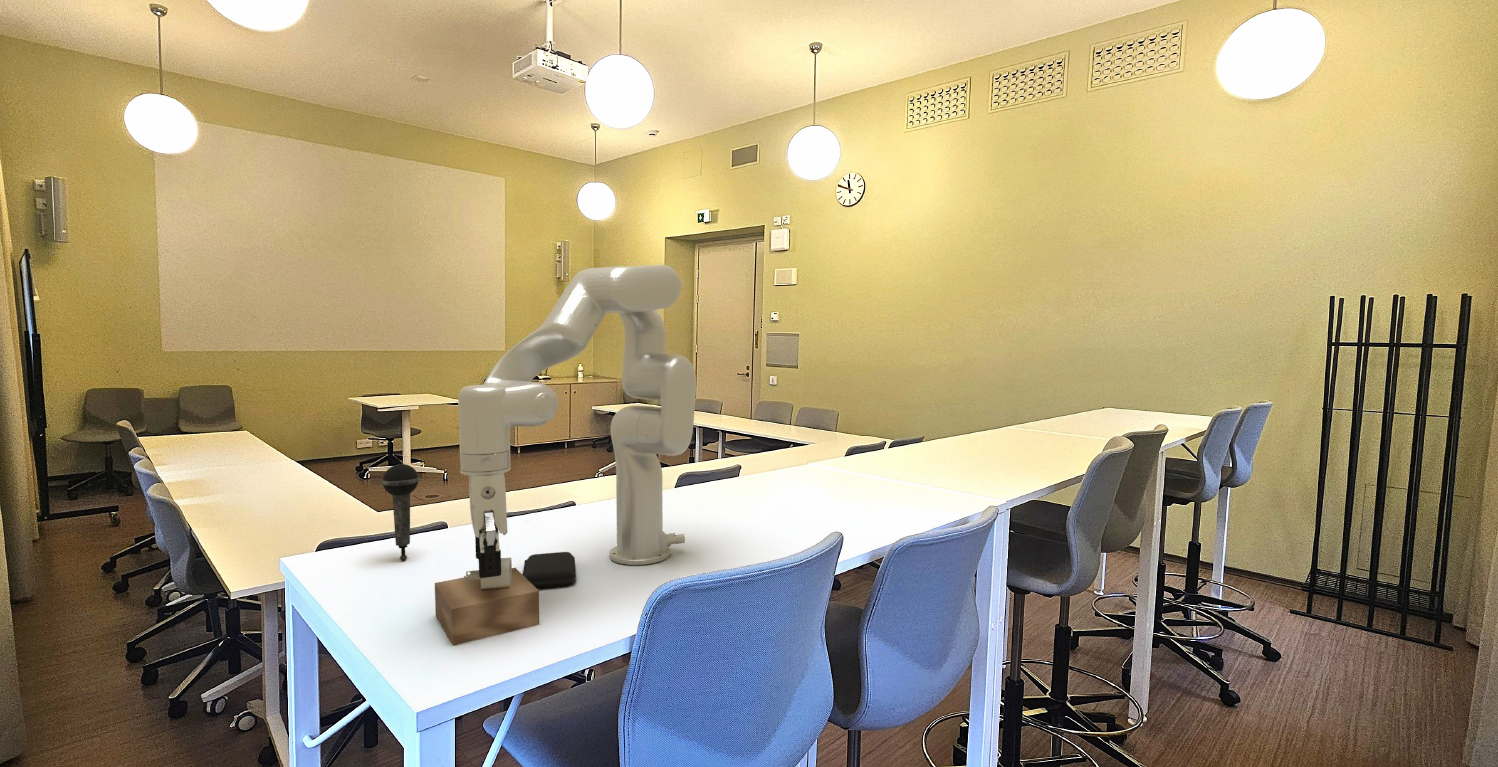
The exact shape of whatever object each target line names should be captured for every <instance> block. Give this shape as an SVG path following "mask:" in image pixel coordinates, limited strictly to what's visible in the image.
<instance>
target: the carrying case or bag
mask: <svg viewBox="0 0 1498 767" xmlns="http://www.w3.org/2000/svg"><path fill="white" fill-rule="evenodd" d="M576 570H577V569H576V557H575V556H574V555H573V554H572V553H571V552H569V551H560V552H559V551H558V552H546V553H536V554H535V553H534V554H531V555H529V556H528V558H527V559H524V564H523V570H522V573H521V574H522V575H523V576H524V577H525V578H526V579H527V580H528V581H529V582H530V583H531V584H533V585H534V586H535V587H536V588H537V589H538V590H543V589H544V590H545V589H556V588H566V587H567V588H568V587H569V586H572V584H573V583H575V581H576V580H577V571H576Z"/></svg>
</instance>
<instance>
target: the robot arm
mask: <svg viewBox="0 0 1498 767" xmlns="http://www.w3.org/2000/svg"><path fill="white" fill-rule="evenodd" d="M681 291H682V281H681V278H680V276H679V274H678V273H677V271H676V270H675V269H674V268H673V267H671V266H668V265H666V264H652V265H636V266H635V265H634V266H632V265H630V266H628V265H627V266H626V265H624V266H621V265H619V266H617V265H616V266H605V267H604V266H603V267H591V268H590V267H589V268H585V269H582V270H580V271H578V272H577V273H576V274H574V276H573V277H572V279H571V280H570V282H569V283H568V284H567V286H566V288H565V289H564V290H563V293H562V294H561V295H560V297H559V299H558V300H557V302H556V303H555V304H554V306H553V308H552V310H551V311H550V312H549V314H548V315H547V316H546V318H545V320H544V322H542V324H541V325H540V326H539V327H538V328H537V329H535V330H534V331H532V332H531V333H529V334H528V335H527V336H526V337H523V339H522V340H520V341H519V342H518V343H516V344H515V345H514V346H512V347H511V348H510V349H508V351H506V352H505V353H504V354H503V355H502V356H501V357H500V359H499V360H498V361H497V362H496V363H495V364H494V367H493V368H492V369H491V371H490V372H489V374H488V375H487V376H486V378H485V380H484V382H483V383H482V384H473V385H466V386H464V387H462V388H461V389H460V390H459V393H458V397H457V398H458V400H457V402H458V428H459V429H458V431H459V432H458V433H459V435H458V436H459V467H460V468H459V470H460V471H459V473H460V474H461V475H464V476H468V496H469V510H470V518H471V519H470V520H471V525H472V529H473V534H474V540H475V541H474V542H475V546H474V547H475V559H477V560H478V570H479V577H480V578H488V577H495V576H500V575H501V558H502V550H501V549H500V537H499V536H500V534H502V536H506V535H507V534H508V518H507V517H508V514H507V494H506V493H507V490H506V480H505V479H506V478H505V473H508V472H510V471H511V428H512V427H528V428H534V427H540V426H543V425H545V424H547V423H548V422H550V421H551V420H552V419H553V418H554V417H555V415H556V413H557V412H558V409H559V400H558V399H559V398H558V396H557V394H556V392H555V391H554V390H553V389H552V387H550V386H548V385H547V384H545V383H542V382H537V381H533V379H534V378H535V377H536V376H538V375H539V374H541V373H543V371H545V370H547V369H549V368H551V367H554V366H556V365H559V364H561V363H563V362H564V363H565V362H566V361H569V360H570V359H571V360H572V359H574V358H575V357H577V356H579V355H580V354H581V353H583V352H584V351H585V349H586V348H587V346H588V344H589V342H590V341H591V339H592V337H593V336H594V334H595V332H596V331H597V329H598V327H599V326H600V324H601V322H602V321H603V319H604V317H605V316H606V315H607V314H618V317H619V318H620V320H621V322H622V325H623V329H624V346H623V360H622V376H621V377H622V378H621V383H622V390H623V392H624V393H625V394H626V395H627V396H629V397H630V398H633V399H639V400H649V401H660V407H659V406H652V405H651V406H649V405H648V406H647V405H629V406H625V407H622V408H620V409H619V410H617V412H616V413H615V414H614V416H613V417H612V419H611V423H610V438H611V441H612V447H613V452H614V456H615V457H614V459H615V473H616V474H615V476H616V478H615V479H616V481H615V482H616V484H615V488H616V489H615V490H616V491H615V492H616V494H615V496H616V497H615V498H616V502H615V503H616V546H614V547H612V548H611V549H610V550H609V559H610V560H611V561H613V562H614V563H618V564H622V565H630V566H642V565H651V564H655V563H659V562H661V561H664V560H666V559H668V558H669V557H670V556H671V548H670V547H672V545H679V544H681V545H682V544H685V543H686V536H685V534H684V533H680V534H676V533H675V532H671V533H665V531H663V530H664V529H663V524H664V523H663V514H664V512H663V509H664V508H663V468H662V465H661V462H660V459H659V457H658V455H661V456H670V457H671V456H678V455H682V454H683V453H684V452H686V450H688V448H689V446H690V445H691V444H690V443H691V441H692V438H693V434H694V432H693V430H694V423H695V422H694V420H695V406H696V395H697V376H696V372H695V368H694V366H693V364H692V362H691V361H690V360H689V358H687V357H686V356H683V355H681V354H672V353H670V354H669V353H666V347H667V345H666V341H667V331H666V326H665V324H664V321H663V319H662V317H661V315H660V313H659V312H658V310H663V309H668V308H670V307H672V306H673V305H675V304H676V303H677V301H678V300H679V298H680V296H681Z"/></svg>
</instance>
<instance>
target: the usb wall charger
mask: <svg viewBox="0 0 1498 767" xmlns="http://www.w3.org/2000/svg"><path fill="white" fill-rule="evenodd" d="M512 566H513V565H512V557H501V575H500V576H495V577H488V578H480V577H479V569H478V570H467V571H466V572H465V575H464V576H463V577H464V580H476V579H481V590H483V589H494V588H506V587H510V585H511V581H512V568H513V567H512ZM468 573H469V574H468ZM465 577H468V579H466V578H465Z"/></svg>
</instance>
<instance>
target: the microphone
mask: <svg viewBox="0 0 1498 767" xmlns="http://www.w3.org/2000/svg"><path fill="white" fill-rule="evenodd" d="M419 482H420V476H419V474H418V471H417V470H416V469H415V467H412V466H411V465H409V464H405V463H397V464H394V465H392V466H390V467H389V468H388V469H387V470H386V471H385V472H384V473H383V477H382V480H381V484H382V486H383V488H384V489H385V491H386V492H387V493H388V494H389V495H391V497H392V508H393V510H392V511H393V524H394V525H393V527H394V539H395V546H396V547H398V549H400V554H401V555H400V557H399V560H400V561H401V562H402V561H403V562H404V561H406V560H407V558H408V556H407V554H406V548H408V545H410V543H411V493H413V492H414V491H415V490H416V488H417V487H418V485H419Z"/></svg>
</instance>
